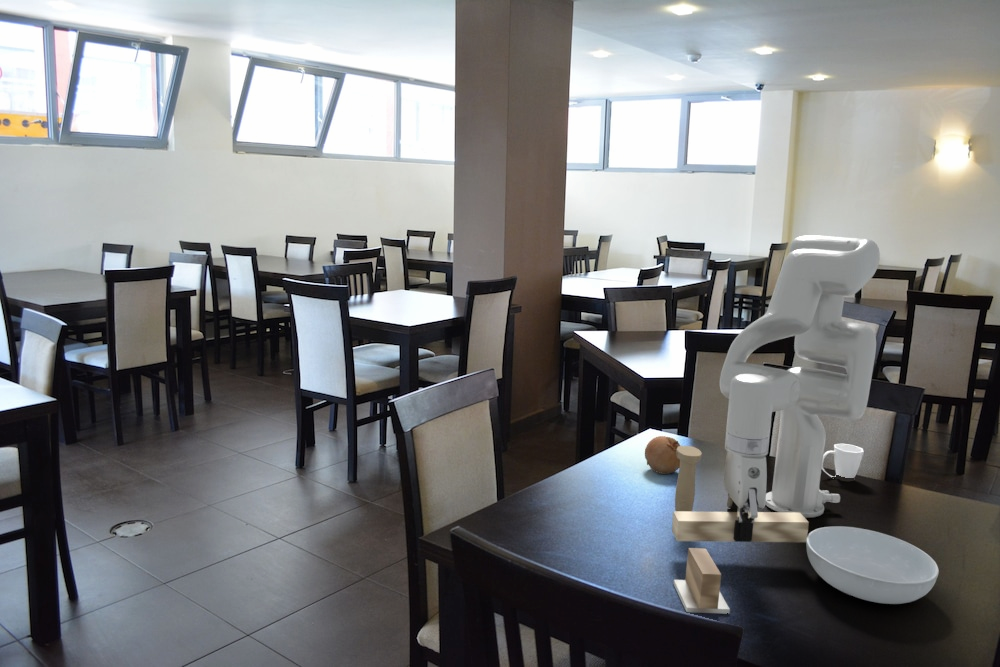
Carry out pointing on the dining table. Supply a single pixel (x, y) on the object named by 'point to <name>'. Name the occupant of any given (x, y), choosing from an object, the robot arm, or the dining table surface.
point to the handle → (686, 477)
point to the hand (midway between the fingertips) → (738, 533)
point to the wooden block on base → (701, 584)
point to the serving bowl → (871, 564)
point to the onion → (662, 455)
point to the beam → (723, 525)
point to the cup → (845, 459)
